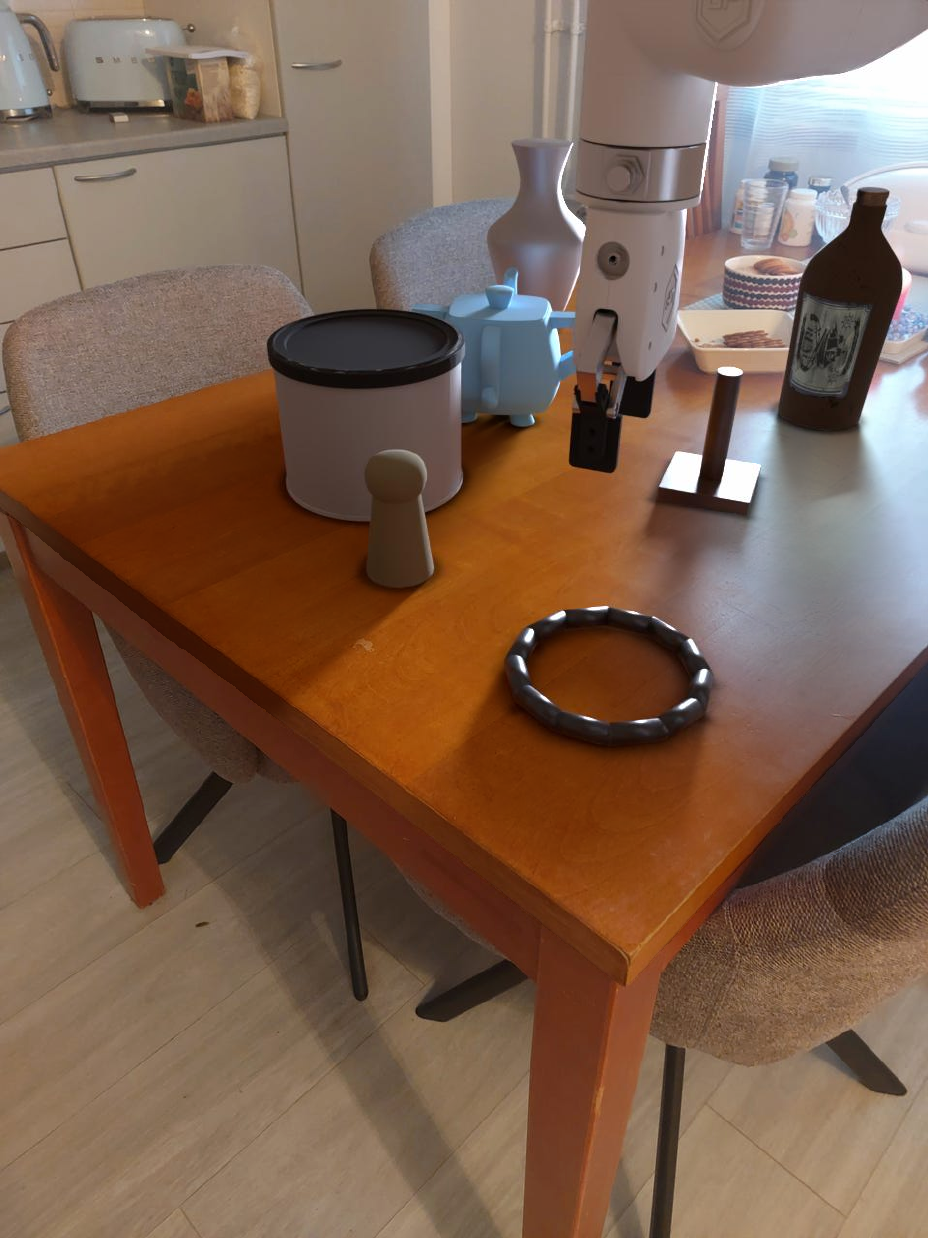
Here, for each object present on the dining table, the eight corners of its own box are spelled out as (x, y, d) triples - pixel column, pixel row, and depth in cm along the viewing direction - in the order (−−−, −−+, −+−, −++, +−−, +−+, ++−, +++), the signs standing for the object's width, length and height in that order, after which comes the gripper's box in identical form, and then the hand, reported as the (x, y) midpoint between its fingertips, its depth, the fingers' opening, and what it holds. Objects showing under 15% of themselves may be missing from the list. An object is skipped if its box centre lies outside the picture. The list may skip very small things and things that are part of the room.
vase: (469, 321, 137) (470, 137, 122) (551, 309, 142) (562, 131, 127) (513, 350, 126) (519, 153, 112) (600, 336, 131) (617, 145, 116)
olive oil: (790, 392, 114) (838, 176, 99) (875, 411, 109) (940, 187, 94) (758, 419, 107) (806, 191, 92) (848, 441, 102) (913, 204, 87)
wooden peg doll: (447, 563, 80) (445, 451, 74) (408, 595, 76) (403, 479, 70) (392, 544, 83) (387, 435, 77) (352, 574, 79) (342, 461, 73)
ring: (724, 644, 71) (727, 628, 70) (689, 773, 59) (692, 756, 58) (541, 603, 75) (542, 587, 74) (476, 715, 64) (476, 699, 63)
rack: (758, 477, 94) (783, 362, 87) (747, 516, 88) (773, 394, 80) (673, 463, 97) (691, 350, 90) (656, 499, 90) (673, 380, 83)
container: (253, 470, 95) (232, 330, 87) (399, 426, 105) (393, 296, 96) (344, 543, 83) (331, 389, 75) (500, 486, 93) (505, 343, 84)
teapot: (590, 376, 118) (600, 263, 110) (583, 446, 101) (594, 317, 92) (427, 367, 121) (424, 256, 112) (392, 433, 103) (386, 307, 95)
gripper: (671, 206, 46) (633, 503, 56) (727, 155, 58) (688, 404, 68) (532, 195, 48) (520, 482, 58) (615, 148, 61) (593, 389, 71)
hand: (611, 439), depth 63 cm, fingers open, 9 cm apart
